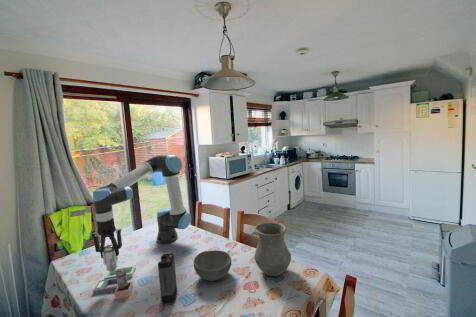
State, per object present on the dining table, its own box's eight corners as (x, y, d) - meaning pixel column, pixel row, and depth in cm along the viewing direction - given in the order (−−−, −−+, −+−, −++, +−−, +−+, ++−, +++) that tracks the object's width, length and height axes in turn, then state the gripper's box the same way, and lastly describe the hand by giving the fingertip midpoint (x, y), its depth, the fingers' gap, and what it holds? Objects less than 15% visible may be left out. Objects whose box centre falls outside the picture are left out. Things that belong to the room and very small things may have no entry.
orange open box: (133, 288, 114) (132, 281, 114) (129, 297, 108) (128, 290, 108) (119, 291, 113) (118, 283, 113) (115, 300, 107) (114, 292, 106)
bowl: (202, 294, 108) (200, 274, 107) (190, 272, 126) (189, 255, 125) (238, 279, 117) (237, 261, 116) (223, 261, 135) (222, 245, 134)
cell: (118, 265, 118) (114, 242, 117) (115, 270, 114) (111, 246, 113) (108, 266, 118) (105, 243, 116) (105, 271, 113) (102, 248, 112)
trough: (135, 270, 131) (135, 265, 131) (132, 278, 123) (131, 273, 123) (110, 274, 128) (109, 269, 128) (104, 283, 120) (104, 277, 120)
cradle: (124, 280, 122) (124, 276, 121) (119, 291, 113) (119, 286, 113) (100, 284, 119) (99, 280, 119) (93, 295, 111) (92, 290, 111)
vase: (260, 286, 111) (257, 238, 108) (251, 264, 129) (249, 223, 127) (297, 280, 114) (296, 233, 111) (284, 260, 132) (282, 219, 130)
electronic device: (165, 291, 111) (162, 253, 109) (177, 290, 111) (174, 252, 109) (160, 306, 101) (156, 264, 99) (174, 304, 102) (170, 263, 100)
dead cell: (130, 289, 113) (127, 266, 111) (127, 295, 108) (123, 271, 107) (121, 290, 113) (117, 267, 111) (117, 297, 108) (113, 273, 106)
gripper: (125, 214, 118) (131, 255, 121) (89, 218, 115) (95, 261, 118) (121, 219, 111) (127, 263, 114) (82, 224, 107) (89, 269, 110)
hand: (111, 262), depth 116 cm, fingers closed on cell, 4 cm apart
